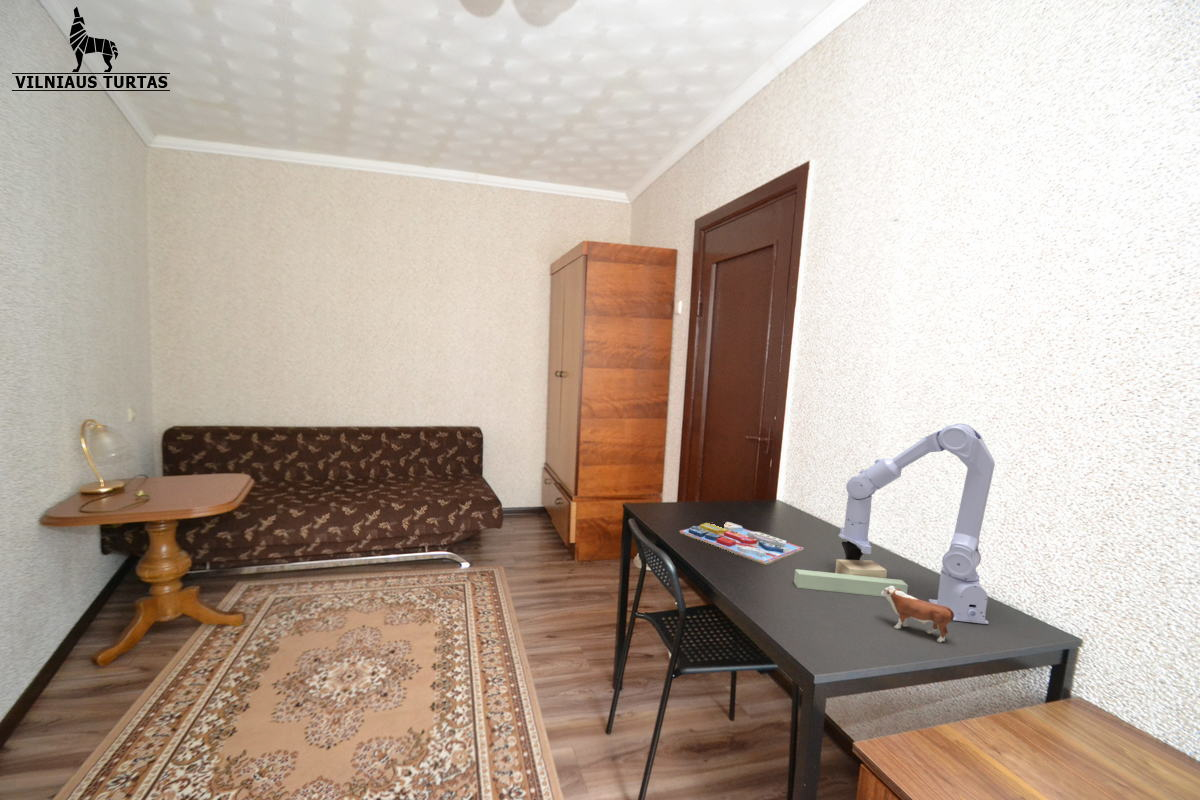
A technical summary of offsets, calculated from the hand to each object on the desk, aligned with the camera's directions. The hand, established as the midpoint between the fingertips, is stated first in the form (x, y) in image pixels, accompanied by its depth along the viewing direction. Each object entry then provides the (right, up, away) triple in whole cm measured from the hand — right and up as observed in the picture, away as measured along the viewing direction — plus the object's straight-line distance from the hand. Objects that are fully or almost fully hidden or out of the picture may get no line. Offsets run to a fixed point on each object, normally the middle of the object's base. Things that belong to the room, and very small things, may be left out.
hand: (851, 569), depth 132 cm
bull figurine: (0, -4, -26) cm, 27 cm away
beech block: (0, -2, -4) cm, 4 cm away
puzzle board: (-23, 0, +22) cm, 32 cm away
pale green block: (-5, -2, -9) cm, 10 cm away
